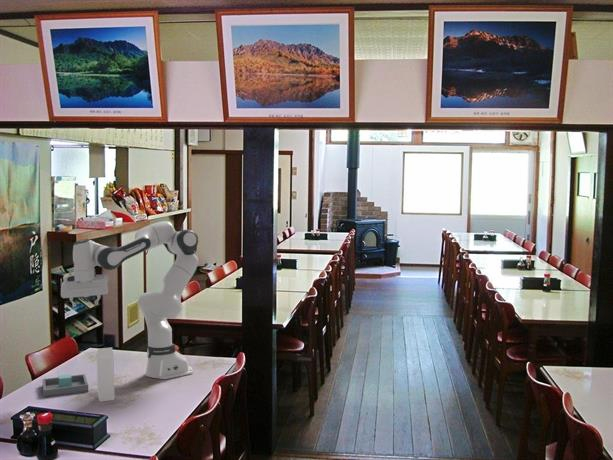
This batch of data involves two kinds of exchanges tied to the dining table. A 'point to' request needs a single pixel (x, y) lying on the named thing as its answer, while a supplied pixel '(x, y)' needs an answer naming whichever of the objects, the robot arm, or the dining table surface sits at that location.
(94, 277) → the robot arm
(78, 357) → the dining table surface
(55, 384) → the tray
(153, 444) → the dining table surface
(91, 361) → the dining table surface
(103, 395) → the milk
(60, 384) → the block
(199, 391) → the dining table surface
